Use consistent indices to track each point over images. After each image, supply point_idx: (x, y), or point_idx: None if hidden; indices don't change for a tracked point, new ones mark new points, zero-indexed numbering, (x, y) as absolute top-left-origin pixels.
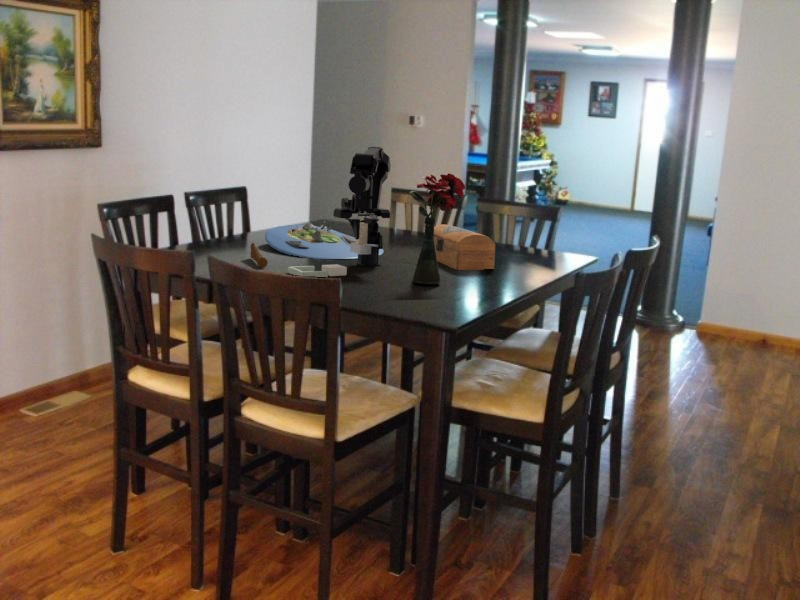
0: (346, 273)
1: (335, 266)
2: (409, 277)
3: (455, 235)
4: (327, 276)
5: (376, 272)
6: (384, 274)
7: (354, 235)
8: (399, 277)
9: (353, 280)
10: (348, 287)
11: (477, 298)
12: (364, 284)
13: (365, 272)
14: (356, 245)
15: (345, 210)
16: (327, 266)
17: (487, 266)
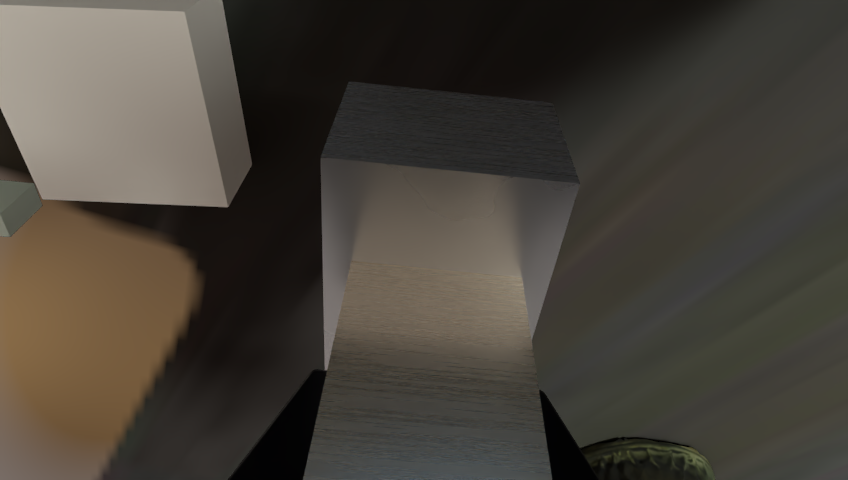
0: (246, 172)
1: (112, 144)
2: (689, 366)
3: None
4: (36, 210)
5: (635, 127)
6: (618, 230)
7: (274, 423)
8: (620, 348)
9: (219, 338)
10: (113, 454)
11: None
12: (237, 430)
13: (525, 93)
14: (327, 328)
15: None
16: (16, 118)
17: None
